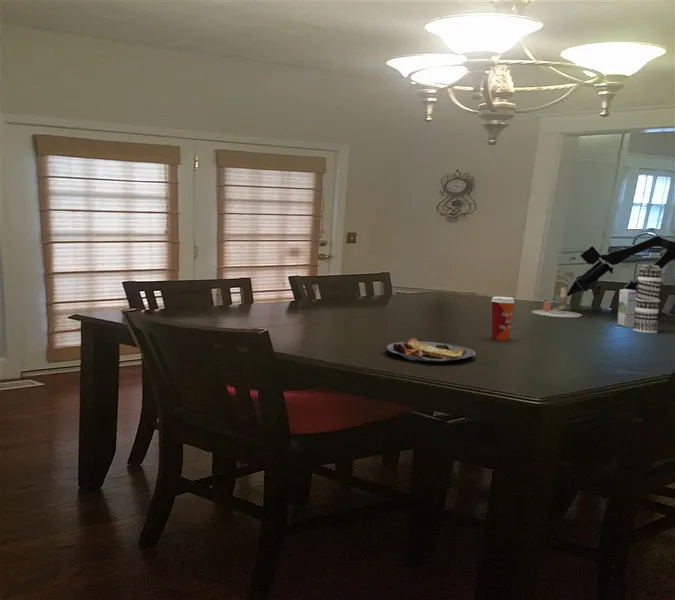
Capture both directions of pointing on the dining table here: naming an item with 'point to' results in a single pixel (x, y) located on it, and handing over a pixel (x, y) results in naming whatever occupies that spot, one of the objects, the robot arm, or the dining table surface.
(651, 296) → the decorative candle
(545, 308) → the stop block
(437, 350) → the food plate
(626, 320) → the syrup box
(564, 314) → the dial plate
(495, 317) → the paper cup
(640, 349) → the dining table surface
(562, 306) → the crank
